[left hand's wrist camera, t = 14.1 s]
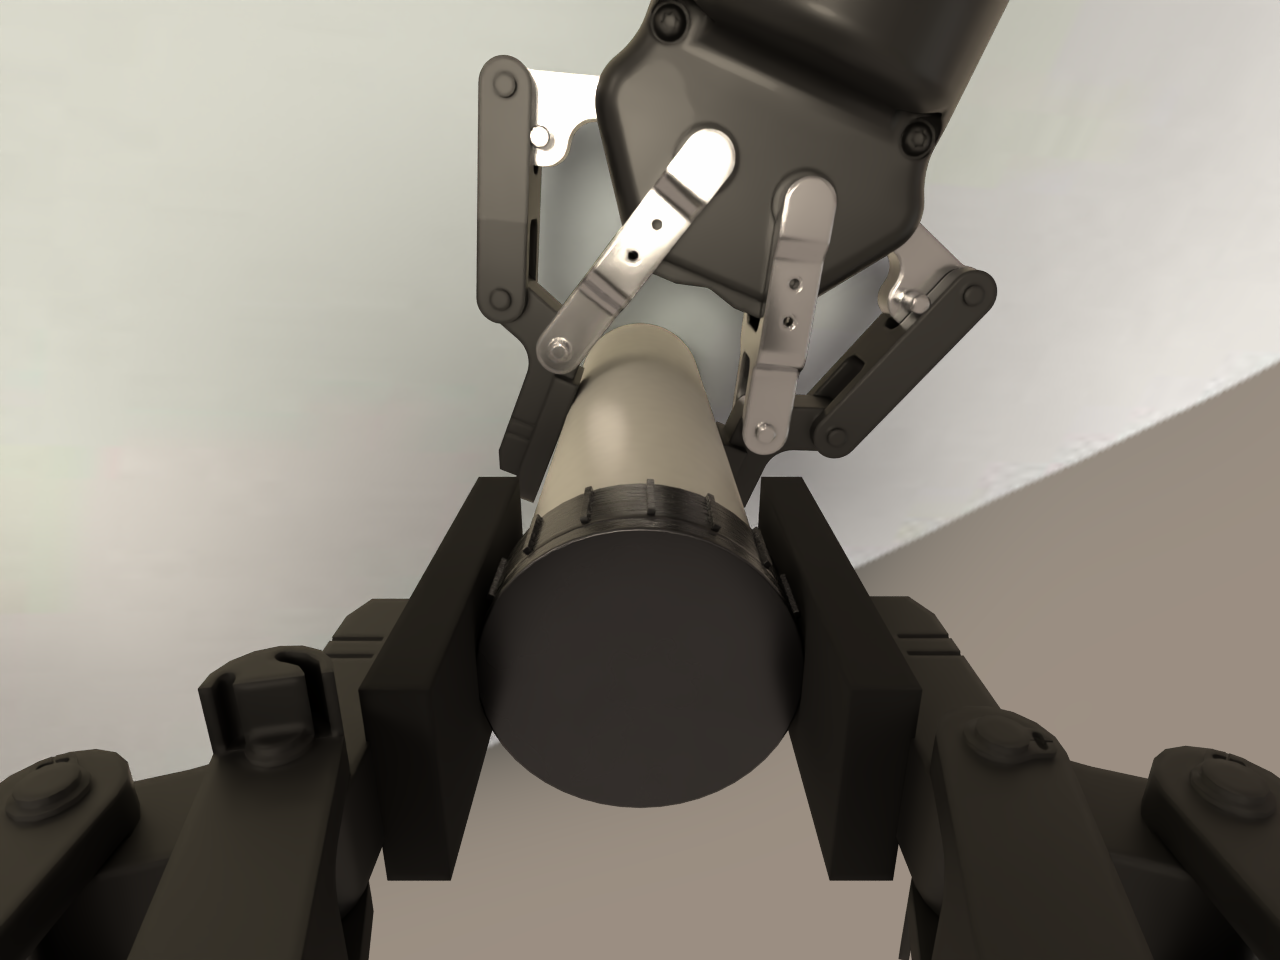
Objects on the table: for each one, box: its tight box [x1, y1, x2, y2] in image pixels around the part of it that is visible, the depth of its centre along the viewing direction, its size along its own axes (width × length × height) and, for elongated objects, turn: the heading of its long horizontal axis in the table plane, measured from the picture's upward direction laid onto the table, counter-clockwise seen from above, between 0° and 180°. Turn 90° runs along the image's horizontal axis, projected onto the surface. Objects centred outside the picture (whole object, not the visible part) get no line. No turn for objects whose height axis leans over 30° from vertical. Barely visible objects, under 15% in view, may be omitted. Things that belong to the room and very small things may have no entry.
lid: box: [476, 479, 805, 808], centre depth 11 cm, size 5×5×2 cm
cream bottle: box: [534, 323, 750, 527], centre depth 19 cm, size 4×4×17 cm
